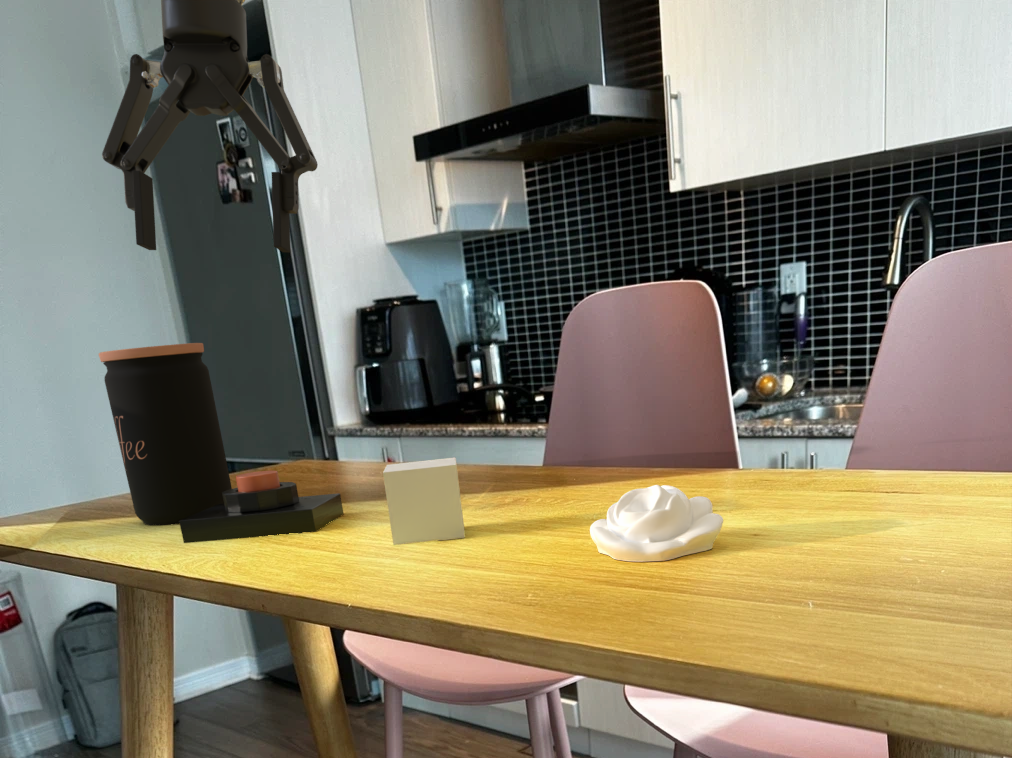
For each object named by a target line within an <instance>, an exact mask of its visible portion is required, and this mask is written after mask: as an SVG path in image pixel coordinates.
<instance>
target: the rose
mask: <svg viewBox="0 0 1012 758" xmlns="http://www.w3.org/2000/svg"><path fill="white" fill-rule="evenodd" d="M713 508H714V507H713V503H712V501H711V499H710V498H708V497H707V496H699V495H698V496H693V497H690V498H688V496H687V495H686V493H685V492H684V491H682V490H681V489H680V488H679V487H676V486H672V485H668V484H663V485H659V484H652V485H651V486H648V487H643V488H635V489H630V490H629V491H627V492H625V493H624V494H622V496H620V498H619V499H618V501H616V502H614V503H612V505H610V506H609V507H608V509H607V512H606V518H599V519H597V520H595V521H594V522H592V523H591V524H590V527H589V535H590V538H591V539H592V541H593V543H594V544H595V545H596V548H597V551H598V553H599V554H603V555H605V556H609V557H610V558H612V559H614V560H618V561H624V562H634V563H635V562H636V563H637V562H639V563H640V562H642V563H644V562H664V561H670V560H673V559H677V558H680V557H683V556H687V555H693V554H696V553H701V552H705V551H709V550H711V549H713V547H714V543H715V541H716V540H717V538H718V536H719V535H720V533H721V531H722V529H723V528H722V527H723V524H724V517H723V516H722V515H721V514H719V513H714V511H713V510H714V509H713Z"/></svg>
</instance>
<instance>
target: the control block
mask: <svg viewBox="0 0 1012 758" xmlns="http://www.w3.org/2000/svg"><path fill="white" fill-rule="evenodd" d="M279 483H280V487H276V488H272V489H265V490H258V491H248V492H238V487H235V488H232V489H229V490H227V491H224V492H222V495H223V500H224V504H218V505H215V506H213V507H211V508H208V509H206V510H203V511H201V512H199V513H196V514H194V515H192V516H189V517H187V518H184V519H182V520H180V521H179V523H180V524H179V528H180V532H181V537H182V540H183V544H189V543H201V542H203V543H204V542H213V541H214V542H215V541H225V540H236V539H237V540H238V538H239V539H249V537H250V538H259V536H262V537H269V536H268V535H274V536H280V535H279V534H286V535H290V534H289V533H298V534H303V533H302V532H310V533H316V532H318V531H320V530H321V529H323V528H324V527H326V526H327V525H326V524H328V523H329V522H331V521H332V522H334V521H336V520H337V519H338V517H339V518H340V517H341V515H342V516H343V515H344V507H343V501H342V495H341V493H340V492H338V493H337V492H336V493H328V494H316V495H306V496H305V495H304V496H299V491H298V486H297V483H296V482H293V481H279ZM336 518H337V519H336ZM333 520H334V521H333ZM332 522H331V523H332ZM329 524H330V523H329ZM329 524H328V525H329ZM325 525H326V526H325ZM322 527H323V528H322ZM320 528H321V529H320ZM319 529H320V530H319ZM317 530H318V531H317ZM277 534H278V535H277Z"/></svg>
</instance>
